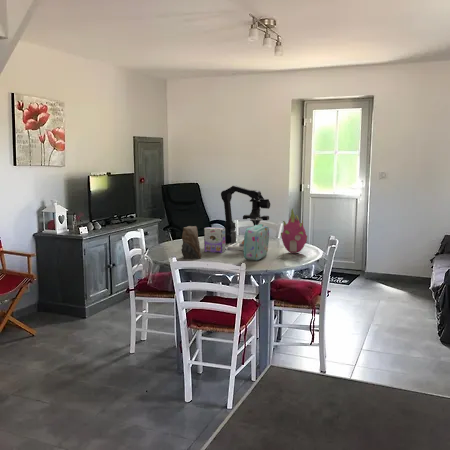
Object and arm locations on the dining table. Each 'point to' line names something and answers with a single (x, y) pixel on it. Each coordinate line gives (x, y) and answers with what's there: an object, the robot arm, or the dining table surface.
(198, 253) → the owl
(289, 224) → the pink dragon fruit
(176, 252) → the dining table surface
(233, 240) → the far post
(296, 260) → the dining table surface
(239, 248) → the panel
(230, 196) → the robot arm
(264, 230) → the lunch box
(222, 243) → the candy box
